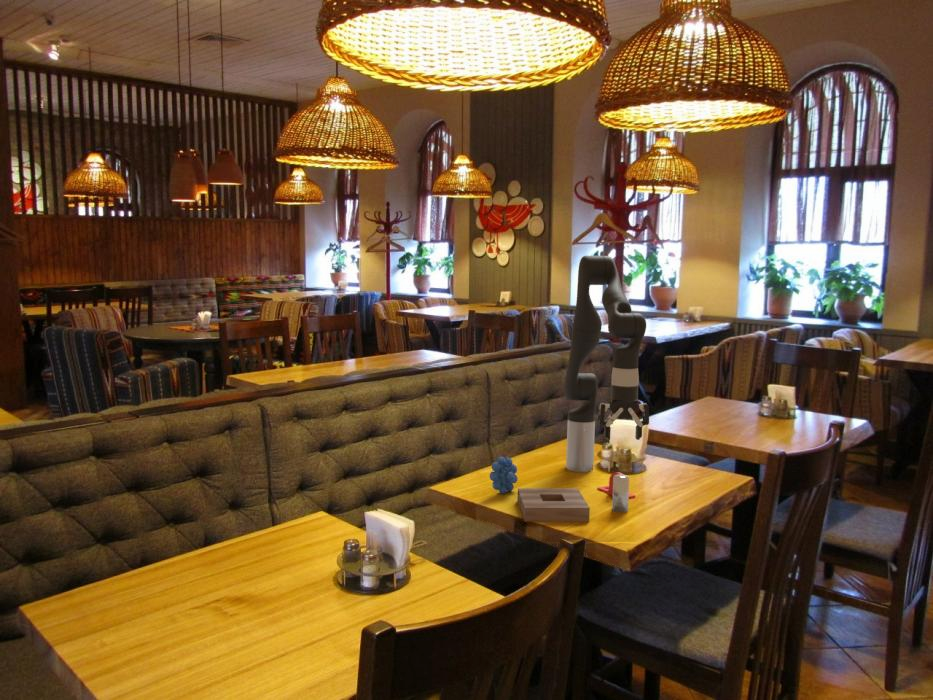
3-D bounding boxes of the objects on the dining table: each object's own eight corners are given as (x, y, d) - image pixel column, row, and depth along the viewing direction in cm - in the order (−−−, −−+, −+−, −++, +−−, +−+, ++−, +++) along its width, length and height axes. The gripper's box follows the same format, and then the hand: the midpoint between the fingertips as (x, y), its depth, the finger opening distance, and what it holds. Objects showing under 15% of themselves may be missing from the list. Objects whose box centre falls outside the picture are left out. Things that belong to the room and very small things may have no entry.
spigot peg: (610, 507, 226) (611, 474, 225) (625, 507, 227) (627, 474, 225) (614, 512, 222) (615, 478, 221) (629, 512, 222) (631, 478, 221)
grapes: (500, 500, 231) (500, 461, 230) (484, 495, 236) (485, 457, 235) (526, 493, 239) (527, 455, 238) (510, 488, 244) (511, 451, 243)
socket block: (517, 501, 231) (517, 488, 231) (577, 501, 232) (577, 488, 231) (524, 521, 213) (524, 507, 213) (589, 521, 214) (589, 507, 213)
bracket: (635, 498, 236) (636, 473, 235) (624, 501, 233) (625, 475, 232) (607, 488, 246) (608, 464, 245) (597, 491, 243) (598, 466, 242)
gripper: (646, 381, 224) (643, 436, 226) (597, 381, 223) (595, 436, 225) (653, 385, 217) (650, 442, 218) (602, 385, 216) (600, 442, 218)
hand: (622, 439), depth 222 cm, fingers open, 8 cm apart
